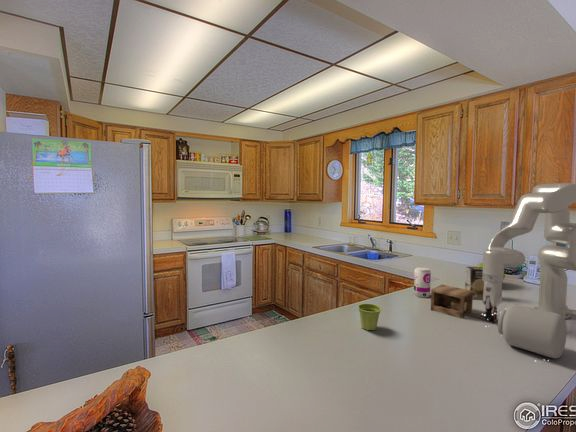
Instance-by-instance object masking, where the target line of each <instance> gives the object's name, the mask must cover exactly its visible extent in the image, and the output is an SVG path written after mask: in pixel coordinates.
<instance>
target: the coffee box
mask: <svg viewBox="0 0 576 432" xmlns="http://www.w3.org/2000/svg"><path fill="white" fill-rule="evenodd" d="M482 274H483V267H477V266H465V277H464V278H465V281H464V289H466V290H471V291H473V300H482V301H483V290H484V281H482Z"/></svg>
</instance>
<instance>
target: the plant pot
mask: <svg viewBox="0 0 576 432" xmlns="http://www.w3.org/2000/svg"><path fill="white" fill-rule="evenodd" d="M357 308H358V310H359V311H358V312H359V316H360V325H361V328H362V329H363V330H365V329H366V330H365V331H368V330H373V331H376V330H377V329H378V328H377V327H378V323H379V317H380V314H381V311H382V308H381V306H379V305H377V304H374V303H367V302H366V303H360V304H359V305H357Z"/></svg>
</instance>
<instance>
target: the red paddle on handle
mask: <svg viewBox="0 0 576 432" xmlns="http://www.w3.org/2000/svg"><path fill="white" fill-rule="evenodd" d="M450 309H453V310H456V311H460V301H459V300H454V301H452V302H451V307H450ZM466 309H467V302H464V315H469V316H470V315H471V316H474V317H478V318H481V319H485V316H484V315H482V314H478V313H474V312H467V311H466ZM491 309H492V307H491ZM496 311H497V310H496V308H495V307H494V311H493V313H495V314H496ZM495 314H494V322H490V321H487V322H488V323H491V324H493V323H496V320H495Z"/></svg>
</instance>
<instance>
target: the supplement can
mask: <svg viewBox="0 0 576 432" xmlns="http://www.w3.org/2000/svg"><path fill="white" fill-rule="evenodd" d="M413 275H414V276H413V278H414V279H413V295H415V297H418V298H422V299H423V298H425V299H426V298H429V297H431V284H432V283H431V280H432V279H431V278H432V277H431V275H432V272H431V269H430V268H428V267H424V266H423V267H422V266H416V267H415V269H414V272H413Z"/></svg>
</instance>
